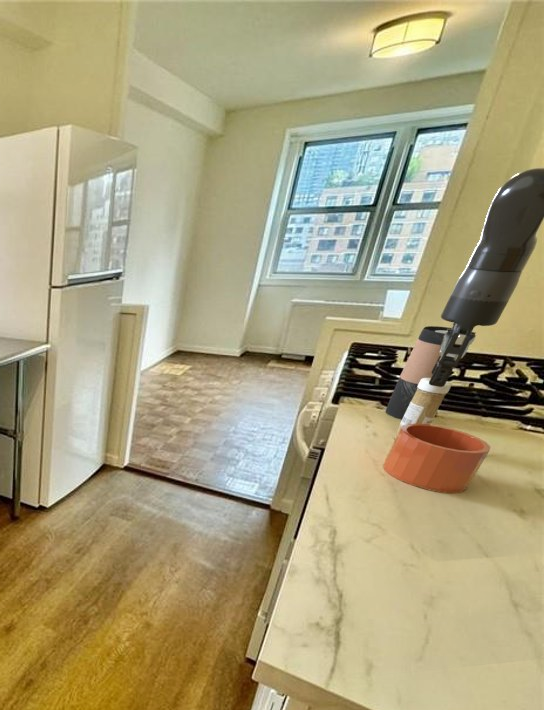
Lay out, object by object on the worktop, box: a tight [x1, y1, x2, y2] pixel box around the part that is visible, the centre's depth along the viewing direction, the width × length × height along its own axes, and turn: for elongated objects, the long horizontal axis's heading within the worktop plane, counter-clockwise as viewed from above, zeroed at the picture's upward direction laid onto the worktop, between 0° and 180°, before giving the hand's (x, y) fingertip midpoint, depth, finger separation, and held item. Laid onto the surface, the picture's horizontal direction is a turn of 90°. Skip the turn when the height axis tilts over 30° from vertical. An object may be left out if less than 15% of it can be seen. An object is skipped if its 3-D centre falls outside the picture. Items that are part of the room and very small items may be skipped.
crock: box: [382, 424, 491, 494], centre depth 87 cm, size 12×12×8 cm
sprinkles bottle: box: [393, 378, 452, 441], centre depth 98 cm, size 5×5×14 cm
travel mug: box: [385, 325, 455, 420], centre depth 108 cm, size 8×8×20 cm
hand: (436, 380), depth 95 cm, fingers open, 8 cm apart
